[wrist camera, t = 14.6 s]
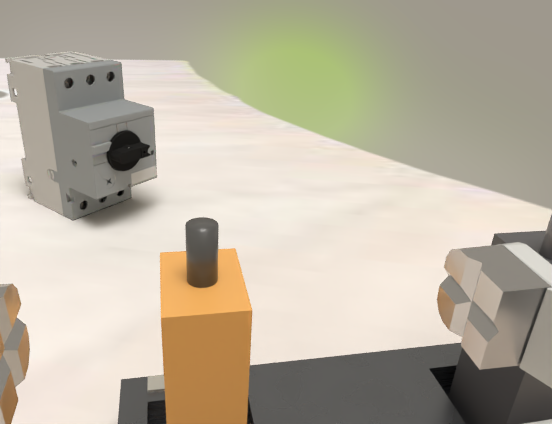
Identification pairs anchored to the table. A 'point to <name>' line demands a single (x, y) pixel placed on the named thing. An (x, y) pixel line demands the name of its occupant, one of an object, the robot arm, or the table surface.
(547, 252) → the twin plug
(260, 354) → the table surface
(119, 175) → the circuit breaker
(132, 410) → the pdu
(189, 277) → the plug
